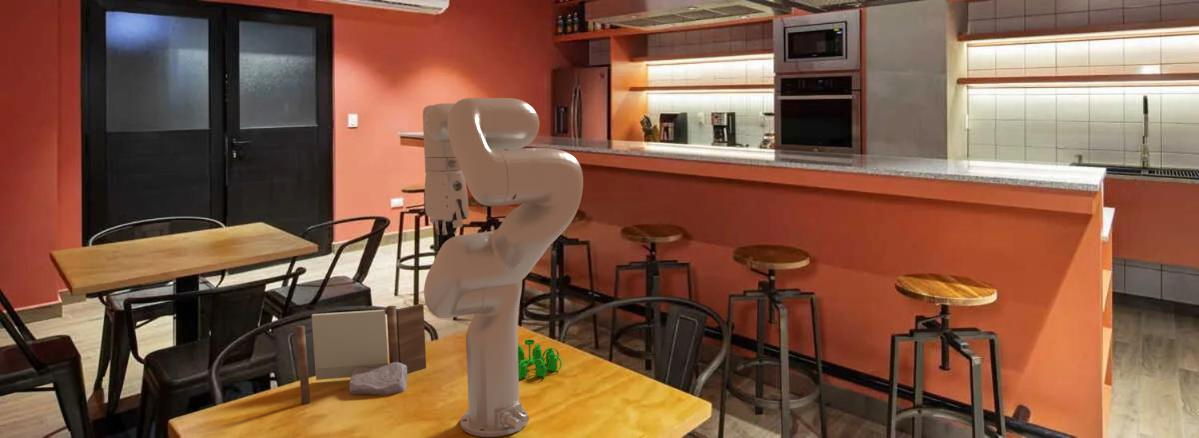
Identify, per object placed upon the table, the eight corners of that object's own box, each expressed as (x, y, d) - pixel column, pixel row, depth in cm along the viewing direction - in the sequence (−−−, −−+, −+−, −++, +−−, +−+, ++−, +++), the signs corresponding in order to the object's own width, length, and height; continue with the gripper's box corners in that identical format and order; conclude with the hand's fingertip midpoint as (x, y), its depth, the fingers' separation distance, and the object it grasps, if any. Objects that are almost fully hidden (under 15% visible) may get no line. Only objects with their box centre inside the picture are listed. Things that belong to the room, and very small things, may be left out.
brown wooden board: (427, 368, 158) (424, 300, 156) (304, 405, 138) (298, 328, 136) (422, 366, 160) (419, 299, 157) (300, 402, 140) (294, 326, 137)
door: (388, 372, 154) (385, 309, 152) (387, 374, 153) (384, 311, 150) (317, 378, 151) (312, 314, 148) (316, 380, 149) (311, 315, 147)
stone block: (407, 401, 145) (408, 375, 154) (405, 381, 143) (406, 356, 152) (348, 408, 142) (353, 381, 152) (345, 389, 141) (350, 363, 150)
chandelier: (510, 356, 166) (509, 328, 165) (570, 361, 163) (569, 333, 162) (487, 379, 152) (486, 349, 151) (552, 385, 149) (551, 354, 148)
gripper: (479, 166, 139) (482, 255, 142) (439, 162, 150) (442, 245, 152) (448, 168, 134) (451, 260, 137) (408, 164, 144) (412, 250, 147)
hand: (447, 252), depth 145 cm, fingers closed
